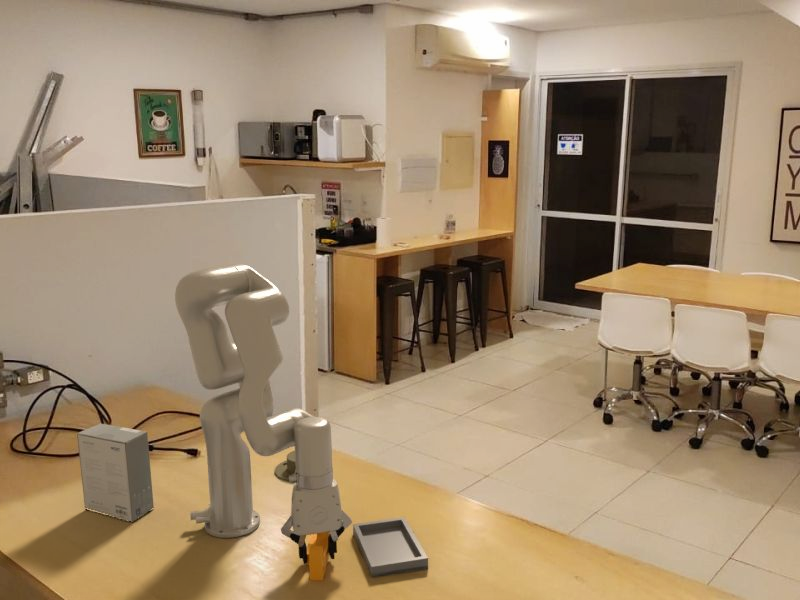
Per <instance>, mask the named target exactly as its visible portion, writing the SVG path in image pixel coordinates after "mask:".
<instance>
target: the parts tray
mask: <svg viewBox="0 0 800 600" xmlns="http://www.w3.org/2000/svg"><path fill="white" fill-rule="evenodd" d="M352 527H353V528H352V533H353V537H354V540H355V542H356V544H357V546H358V549H359V552H360V553H361V557H362V558H363V561H364V563H365V565H366V568H367V570H368V572H369V575H370V577H371V579H374V578H380V577H389V576H393V575H398V574H406V573H412V572H418V571H425V570H428V569H429V557H428V555H427V554H426V552H425V550H424V549H423V547H422V545H421V543H420V542H419V540H418V538H417V537H416V535H415V533H414V531H413V529H412V528H411V526H410V524H409V522H408V521H407V519H406V518H405V516H403V517H395V518H394V517H393V518H388V519H382V520H381V519H379V520H373V521H368V522H367V521H366V522H361V523H360V522H359V523H354V524H352Z"/></svg>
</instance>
